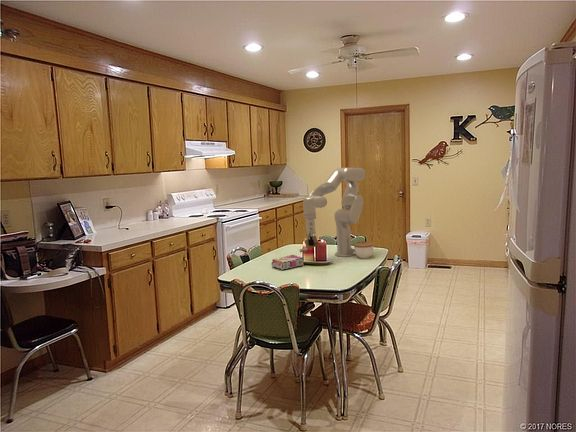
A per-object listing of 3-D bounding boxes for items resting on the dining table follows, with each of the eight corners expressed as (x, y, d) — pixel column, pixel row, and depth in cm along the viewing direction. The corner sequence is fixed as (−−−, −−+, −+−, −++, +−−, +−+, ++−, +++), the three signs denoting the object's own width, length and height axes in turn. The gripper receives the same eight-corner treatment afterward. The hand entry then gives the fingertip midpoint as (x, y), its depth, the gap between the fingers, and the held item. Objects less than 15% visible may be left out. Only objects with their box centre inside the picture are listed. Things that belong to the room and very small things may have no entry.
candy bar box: (303, 257, 280) (282, 262, 270) (303, 264, 281) (283, 270, 271) (292, 254, 289) (271, 259, 279) (293, 261, 290) (272, 266, 280)
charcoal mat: (295, 261, 294) (295, 260, 294) (297, 266, 279) (297, 265, 279) (271, 262, 293) (271, 262, 293) (272, 268, 279) (272, 267, 279)
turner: (318, 243, 289) (315, 235, 288) (319, 245, 284) (316, 236, 283) (299, 251, 288) (296, 242, 288) (300, 252, 283) (296, 244, 283)
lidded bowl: (372, 254, 301) (372, 238, 299) (374, 259, 288) (374, 242, 287) (353, 255, 302) (353, 239, 301) (354, 259, 290) (354, 243, 288)
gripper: (317, 217, 276) (318, 247, 278) (314, 214, 292) (315, 242, 294) (305, 218, 275) (306, 247, 278) (302, 215, 291) (303, 243, 294)
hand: (311, 244), depth 286 cm, fingers closed on turner, 2 cm apart
